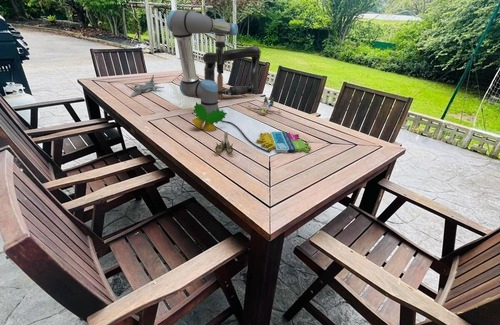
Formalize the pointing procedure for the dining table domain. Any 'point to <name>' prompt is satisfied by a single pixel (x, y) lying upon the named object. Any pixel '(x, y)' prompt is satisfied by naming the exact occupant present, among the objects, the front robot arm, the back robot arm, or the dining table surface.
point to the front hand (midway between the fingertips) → (220, 72)
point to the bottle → (220, 85)
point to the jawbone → (224, 145)
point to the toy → (265, 107)
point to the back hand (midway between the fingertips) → (216, 91)
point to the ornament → (207, 117)
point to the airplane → (145, 87)
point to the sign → (283, 142)
